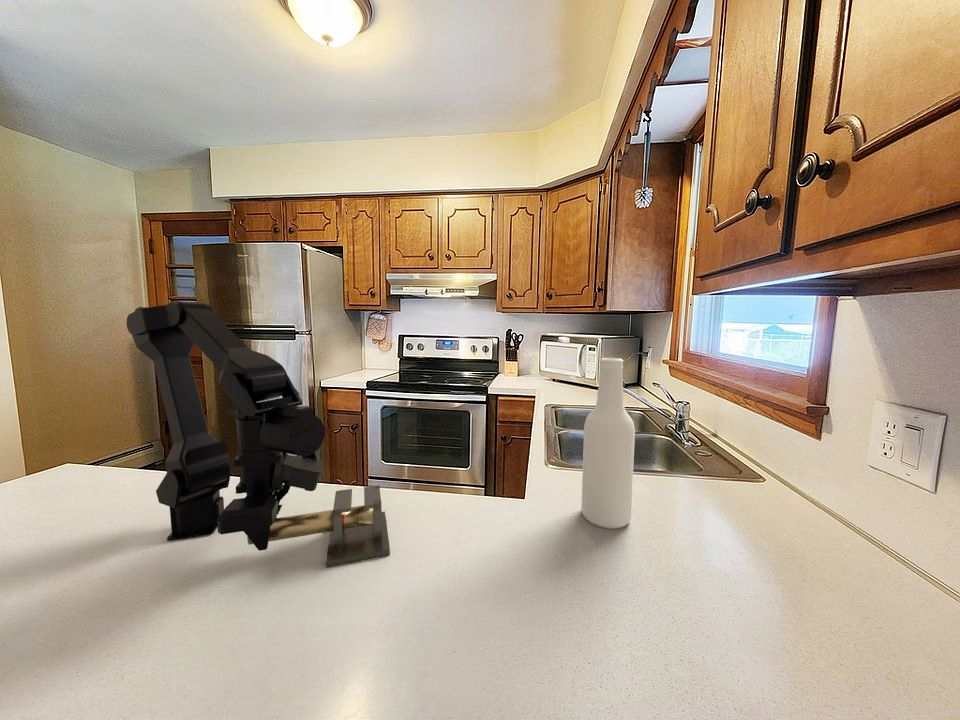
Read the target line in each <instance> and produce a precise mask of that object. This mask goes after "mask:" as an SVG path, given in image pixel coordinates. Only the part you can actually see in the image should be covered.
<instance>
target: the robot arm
mask: <svg viewBox="0 0 960 720" xmlns="http://www.w3.org/2000/svg"><path fill="white" fill-rule="evenodd" d="M211 306H212V305H210V304H208V303H204V302H197V301H180V300H179V301H177V300H176V301H173V302H169V303H167V304H163V305H157V306H150V307H149V306H148V307H147V306H139V307H136V308H135V310H134V311H133V312H131V313H129V314H128V315H127V317H126V321H125V324H126V329H127V332H129V334H130V335H132V339H133V343H134V345H135V347H136V348H137V349H138V350H139V351H140V352H142V353H143V354H144V355H145V356H146V357H148V358H149V359H150V360H151V361H152V363H153V365H154V367H153V368H154V370H155V375H156V379H157V382H158V386H159V387H158V388H159V390H160V395H161V398H162V399H161V400H162V403H163V406H164V410H165V415H166V418H167V423H168V427H169V429H170V434H171V439H172V443H173V444H172V446H171V449H170V450H169V454H168V455H167V458H166V459H165V462H164V463H165V470H166V474H165V475H164V477H163V479H162V480H161V482H160V483H159V485H158V486H157V488H156V489H155V493H156V496H157V500H158V503H159V504H161V505H164V506H167V507H169V517H170V527H171V533H170V534H168V536H167V537H166V541H167V542H170V541H176V540H184V539H190V538H191V539H192V538H198V537H204V536H210V535H212V534H214V533H215V531H216V530H217V534H220V535H227V534H234V533H239V532H240V533H241V532H243V533H244V534H245V536H248V538H249V539H250V540H251V541H252V543H253V544H252V545H254V546H255V548H256V549H257V550H258V551H260V552H261V551H265V550H268V546H269V542H270V541H269V534H270V527H271V525H273V523H274V520H275V518H278V515H279V513H280V511H281V509H282V506H283V504H281V503H280V501H281V500H282V499H284V497H285V496H286V495H287V494H288V493H289V491H290V489H291V487H293V488H297V489H304V491H307V492H314V491H315V490H317V489H316V488H317V486H318V483H319V481H320V478H321V474H322V472H323V469H324V466H325V463H324V462H323V459H319V458H320V457H319V453H318V450H319V449H320V447H321V446H322V444H323V442H324V440H325V439H324V438H325V436H326V427H325V426H324V424H323V421H322V420H321V418H319V417H318V416H317V415H315V414H313V407H312V406H309V405H303V400H302V399H301V396H300V393H299V392H298V390H297V389H296V388H295V386H294V384H293V382H292V380H291V378H290V377H289V375H288V373H287V370H286V369H285V368H284V366H283V365H282V364H281V363H279V362H278V361H277V360H275V359H273V357H271V356H269V355H268V354H264V353H261V352H258V351H255V350H252V349H251V348H249V347H248V346H247V345H246V344H245V342H243V341H242V340H241V339H240V338H239V337H238V336H237V335H236V334H235V333H234V332H233V331H232V330H231V329H230V328H229V327H228V326H227V325H226V324H225V323H224V322H223V321H222V320H221V319H219V318H218V316H217V315H216V314H215V313H214V310H213V308H212V307H211ZM194 345H195V346H197V348H198V349H199V350H200V351H201V352H202V353H203V354H204V355H205V356H206V357H207V358H208V359H209V360H210V362H211V363H212V364H213V365H214V366H215V367H216V369H217V370H218V371H219V379H218V384H219V386H220V387H221V388H222V390H223V391H224V393H225V395H226V396H227V397H228V399H229V400H230V401H231V402H233V403H232V404H234V405H233V406H232V407H230V408H229V409H228V411H227V414H228V415H229V416H234V417H235V419H236V434H237V437H236V438H237V450H238V451H237V455H236V456H235V458H234V459H233V464H234V465H233V464H232V460H231V457H230V455H229V452H228V445H227V443H226V442H225V441H224V440H219V441H218V440H217V439H216V438H215V437H214V436H212V435H211V434H210V432H209V428H208V424H207V419H206V416H205V412H204V408H203V403H202V401H201V397H200V393H199V388H198V384H197V380H196V377H195V372H194V368H193V366H192V361H191V357H190V354H191V352H192V350H193V347H194ZM301 405H302V406H301ZM233 466H234V467H238V470H239V482H238V484H237V485H236V486H235V494H237V495H239V494H246V496H245V497H241V498H234V499H232V500H231V502H230V503H228V504H227V505H226V507H225V505H224V504H225V501H224V497H223V496H221V495H220V494H221V493H220V491H221V490H223V489H227V488H229V484H230V480H231V475H232V470H233V469H232V468H233ZM268 541H269V542H268Z"/></svg>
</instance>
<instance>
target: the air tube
mask: <svg viewBox="0 0 960 720" xmlns="http://www.w3.org/2000/svg"><path fill="white" fill-rule="evenodd" d="M367 525H373V508H370V509H364V504H363V505H357V506H351V511H350V512H344V513H342V527H343V530H345V529H348V528H355V527H361V526H367ZM330 531H334V524H333V509H329V510H323V511H316V512H309V513H301V514H296V515H295V514H294V515H289V516H281V517H277V518H275V520H274V523H273V525H271V527H270V534H269V541H268V543H269V542H274V541H281V540H286V539H292V538H298V537H299V538H300V537H306V536H311V535H318V534H322V533H323V534H324V533H329V532H330ZM246 536H247V535H246ZM246 541H247V544H248V545H250V546H251V545H254V544H253V543H252V541H251V540H250V539H249V538H248V536H247V540H246Z"/></svg>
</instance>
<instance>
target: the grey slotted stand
mask: <svg viewBox="0 0 960 720" xmlns="http://www.w3.org/2000/svg"><path fill="white" fill-rule="evenodd" d="M363 497H364V498H363V503H364V504H363V505H364V509H370V508H373V525H367V526H361V527H355V528H348V529H345V530H343V527H342V513H344V512H350V511H351V507H352V501H353V500H352V499H353V488H350V489H349V488H346V489H341V490H336V491H335V495H334V502H333V508H332V510H333V524H334V531H330V533H329V539H328V545H327V546H328V547H327V551H326V559H325V568H327V569H328V568H330V567H337V566H343V565H347V564H353V563H359V562H363V561H362V560H364V561H367V560H368V559H369V560H373V558H374V559H378V558H377V557H379V558H384V557H389V556H391V550H390V549H391V547H390V540H389V531H388V523H387V517H386V511H382V509H383V508H382V497H381V487H380V484H378V485H372V486H365V487H363ZM383 556H384V557H383Z"/></svg>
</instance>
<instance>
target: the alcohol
mask: <svg viewBox="0 0 960 720" xmlns="http://www.w3.org/2000/svg"><path fill="white" fill-rule="evenodd" d="M599 361H600V365H599V369H600V370H599V380H598V387H597V395H596V397H597V398H596V403H595V406H594V408H593V409H592V410H591V411H590V412H589V413H588V415H587V416H586V418H585V421H584V425H583V426H584V427H583V448H582V450H583V452H582V454H583V455H582V477H581V478H582V481H581V482H582V483H581V508H580V509H581V513H582V515H583V517H584V518H585V519H586V521H588V522H589V523H590V524H592V525H593V526H596V527H600V528H601V529H602V528H603V529H608V530H609V529H610V530H616V529H622V528H624V527H626V526H627V525H628V523H629V522H630V521H631V519H632V506H633V505H632V503H633V502H632V501H633V482H634V480H633V479H634V462H635V461H634V459H635V441H636V435H635V434H636V429H635V425H634V424H635V423H634V420H633V419H632V417H631V415H629V413H628V412H627V410H626V408H625V405H624V402H625V401H624V400H625V399H624V380H623V377H624V376H623V375H624V373H623V369H624V366H623V365H624V360H623V359H622V358H619V357H618V358H617V357H602V358H601V359H599Z"/></svg>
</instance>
